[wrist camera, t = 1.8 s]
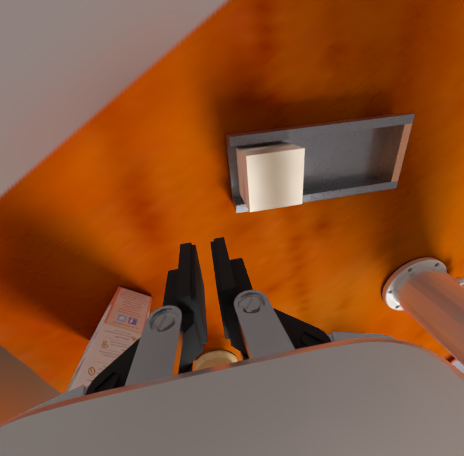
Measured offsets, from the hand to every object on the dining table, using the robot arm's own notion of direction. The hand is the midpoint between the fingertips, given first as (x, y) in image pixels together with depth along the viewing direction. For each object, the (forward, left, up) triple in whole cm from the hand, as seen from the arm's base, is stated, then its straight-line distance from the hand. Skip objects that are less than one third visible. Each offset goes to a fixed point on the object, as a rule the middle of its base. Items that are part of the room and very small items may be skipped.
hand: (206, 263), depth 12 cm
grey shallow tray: (-15, 0, -19) cm, 24 cm away
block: (-8, 0, -19) cm, 21 cm away
